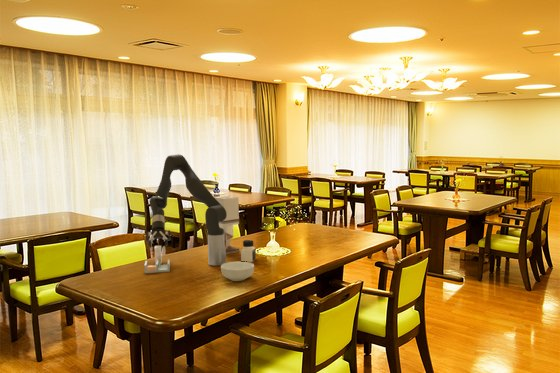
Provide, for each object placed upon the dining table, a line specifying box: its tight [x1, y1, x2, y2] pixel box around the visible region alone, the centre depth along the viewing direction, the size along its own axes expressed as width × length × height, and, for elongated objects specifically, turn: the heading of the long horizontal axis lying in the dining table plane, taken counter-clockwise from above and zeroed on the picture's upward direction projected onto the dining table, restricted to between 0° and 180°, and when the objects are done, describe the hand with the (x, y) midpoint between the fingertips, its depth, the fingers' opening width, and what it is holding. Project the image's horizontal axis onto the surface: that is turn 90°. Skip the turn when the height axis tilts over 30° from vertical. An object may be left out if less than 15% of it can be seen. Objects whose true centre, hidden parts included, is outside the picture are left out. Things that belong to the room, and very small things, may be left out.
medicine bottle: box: [240, 239, 257, 263], centre depth 266 cm, size 7×7×12 cm
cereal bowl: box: [220, 260, 255, 282], centre depth 230 cm, size 17×17×7 cm
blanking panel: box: [153, 245, 163, 265], centre depth 261 cm, size 6×4×10 cm, turn 13°
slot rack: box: [143, 258, 171, 274], centre depth 248 cm, size 11×13×4 cm
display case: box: [213, 195, 240, 255], centre depth 288 cm, size 11×11×35 cm
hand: (158, 246), depth 265 cm, fingers open, 8 cm apart
